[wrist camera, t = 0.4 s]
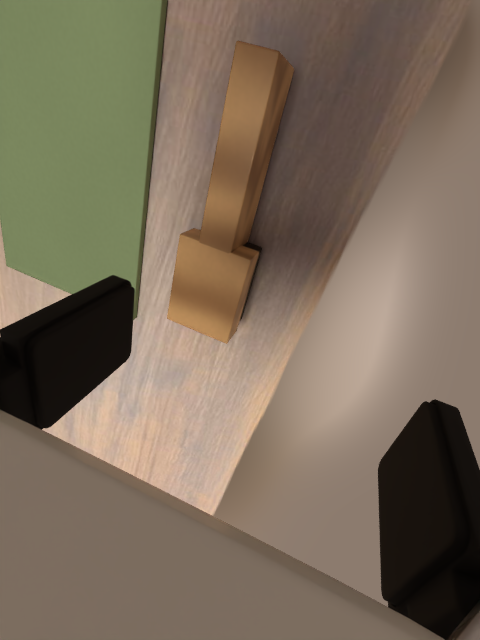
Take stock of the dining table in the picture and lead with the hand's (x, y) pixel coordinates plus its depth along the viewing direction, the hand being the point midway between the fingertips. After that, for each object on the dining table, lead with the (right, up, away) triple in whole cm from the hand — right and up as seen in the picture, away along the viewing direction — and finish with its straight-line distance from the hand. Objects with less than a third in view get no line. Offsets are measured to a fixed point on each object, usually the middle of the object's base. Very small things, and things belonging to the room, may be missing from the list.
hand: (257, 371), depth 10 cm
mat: (-14, +13, +15) cm, 24 cm away
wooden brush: (-1, +8, +12) cm, 15 cm away
